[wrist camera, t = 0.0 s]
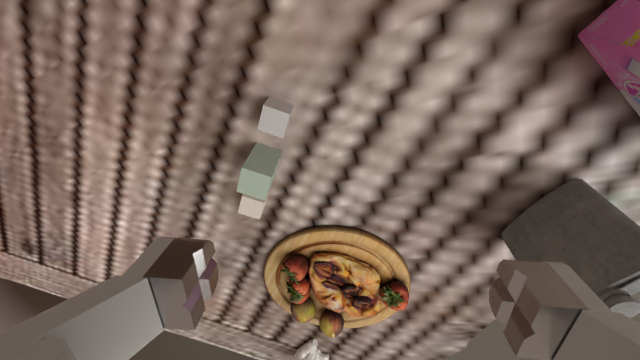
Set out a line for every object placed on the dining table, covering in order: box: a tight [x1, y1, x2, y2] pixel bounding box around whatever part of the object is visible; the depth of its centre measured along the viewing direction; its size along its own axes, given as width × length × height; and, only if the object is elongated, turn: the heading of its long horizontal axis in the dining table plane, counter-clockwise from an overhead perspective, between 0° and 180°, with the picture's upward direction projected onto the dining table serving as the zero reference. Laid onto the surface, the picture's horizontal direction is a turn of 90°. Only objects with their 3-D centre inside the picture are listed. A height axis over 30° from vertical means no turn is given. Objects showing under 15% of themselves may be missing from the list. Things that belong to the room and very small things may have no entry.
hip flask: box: [501, 179, 640, 318], centre depth 45 cm, size 16×4×20 cm, turn 149°
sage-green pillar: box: [236, 142, 282, 200], centre depth 48 cm, size 4×4×8 cm
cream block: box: [238, 192, 269, 220], centre depth 55 cm, size 4×4×4 cm
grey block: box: [257, 97, 294, 138], centre depth 46 cm, size 4×4×4 cm
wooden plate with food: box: [264, 226, 410, 338], centre depth 64 cm, size 32×32×8 cm
